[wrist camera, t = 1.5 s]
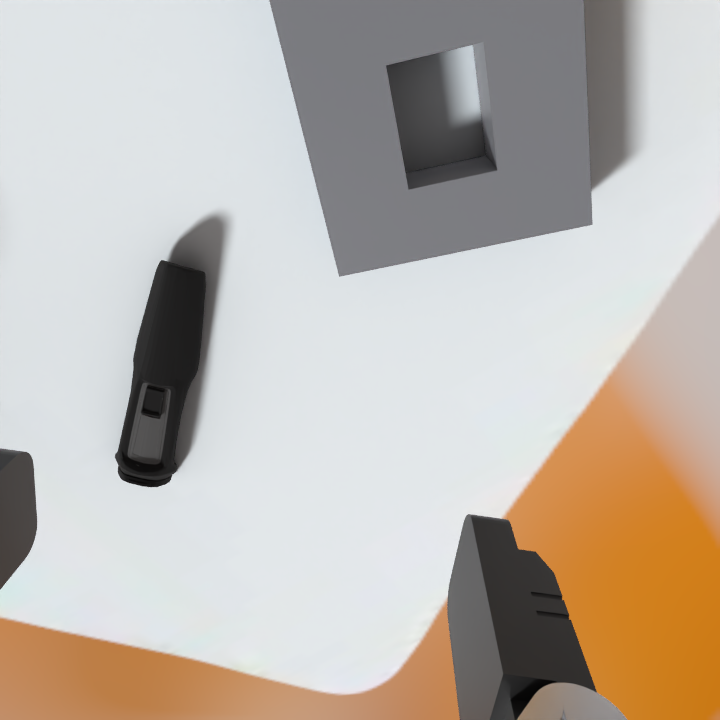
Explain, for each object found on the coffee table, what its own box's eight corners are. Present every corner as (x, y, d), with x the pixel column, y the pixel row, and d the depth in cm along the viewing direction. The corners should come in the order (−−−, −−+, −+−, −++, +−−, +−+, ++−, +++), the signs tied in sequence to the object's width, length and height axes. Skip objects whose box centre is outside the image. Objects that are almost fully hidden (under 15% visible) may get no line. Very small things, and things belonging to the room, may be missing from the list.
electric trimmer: (228, 257, 34) (216, 280, 31) (177, 474, 41) (164, 508, 38) (158, 236, 33) (139, 257, 31) (118, 460, 40) (101, 493, 38)
